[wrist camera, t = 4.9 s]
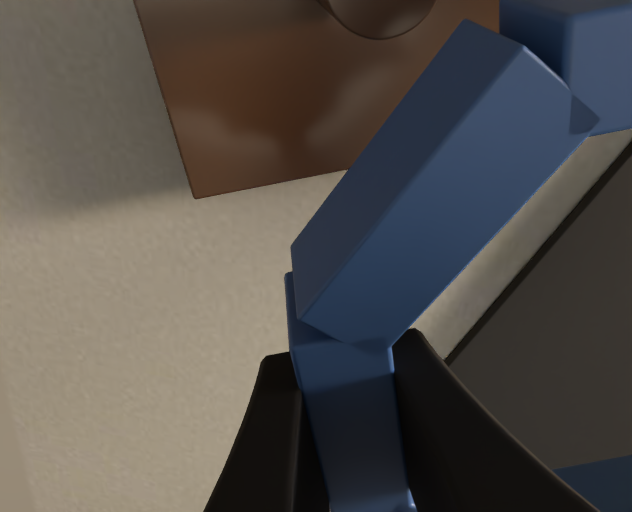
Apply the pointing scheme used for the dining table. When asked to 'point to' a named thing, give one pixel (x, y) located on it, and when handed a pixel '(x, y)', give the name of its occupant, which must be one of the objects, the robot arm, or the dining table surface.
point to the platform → (289, 79)
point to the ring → (444, 224)
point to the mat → (564, 336)
